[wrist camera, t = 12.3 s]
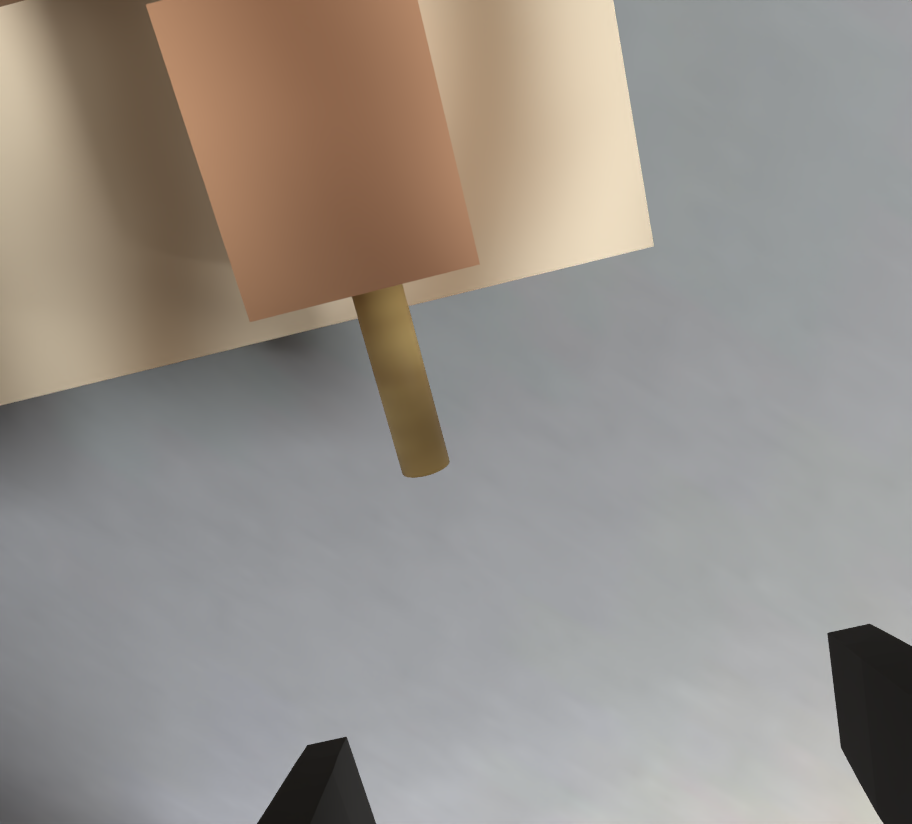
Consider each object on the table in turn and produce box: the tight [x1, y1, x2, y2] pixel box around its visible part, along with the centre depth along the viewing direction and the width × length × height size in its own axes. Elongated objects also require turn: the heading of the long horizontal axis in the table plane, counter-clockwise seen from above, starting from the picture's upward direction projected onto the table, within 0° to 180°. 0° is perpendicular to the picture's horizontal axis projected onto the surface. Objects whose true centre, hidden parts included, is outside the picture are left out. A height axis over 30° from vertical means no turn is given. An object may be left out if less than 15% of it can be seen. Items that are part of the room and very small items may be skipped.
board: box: [0, 0, 654, 406], centre depth 17 cm, size 22×9×3 cm, turn 104°
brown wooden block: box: [146, 0, 480, 478], centre depth 16 cm, size 4×9×5 cm, turn 14°
